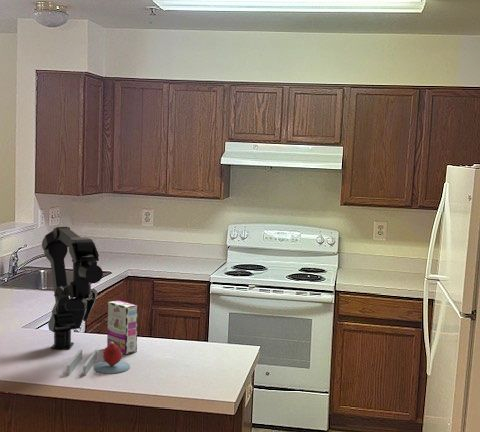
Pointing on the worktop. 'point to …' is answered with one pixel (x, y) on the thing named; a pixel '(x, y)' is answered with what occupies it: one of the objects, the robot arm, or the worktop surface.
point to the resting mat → (112, 367)
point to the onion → (112, 354)
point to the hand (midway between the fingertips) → (81, 324)
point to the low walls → (78, 358)
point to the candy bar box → (122, 326)
